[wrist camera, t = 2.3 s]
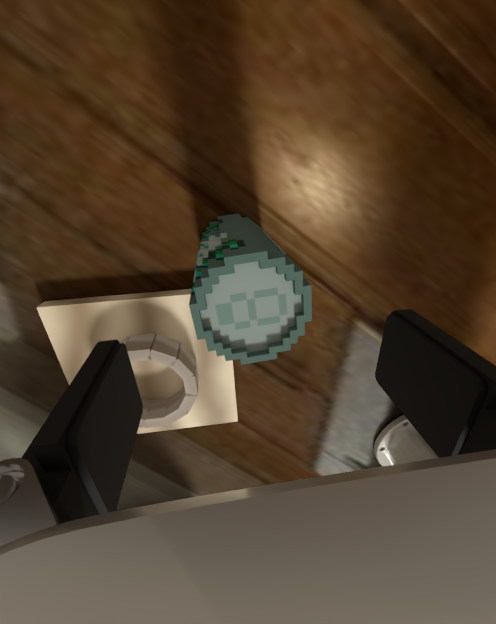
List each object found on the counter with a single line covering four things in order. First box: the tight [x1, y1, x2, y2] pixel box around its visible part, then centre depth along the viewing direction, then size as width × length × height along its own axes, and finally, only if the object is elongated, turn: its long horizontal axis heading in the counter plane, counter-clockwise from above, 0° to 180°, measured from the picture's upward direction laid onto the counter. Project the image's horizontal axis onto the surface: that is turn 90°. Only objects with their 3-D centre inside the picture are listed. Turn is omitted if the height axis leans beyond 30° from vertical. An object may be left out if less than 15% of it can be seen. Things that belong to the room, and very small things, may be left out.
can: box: [189, 213, 312, 365], centre depth 21 cm, size 6×6×15 cm
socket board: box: [37, 289, 238, 434], centre depth 30 cm, size 18×18×4 cm
